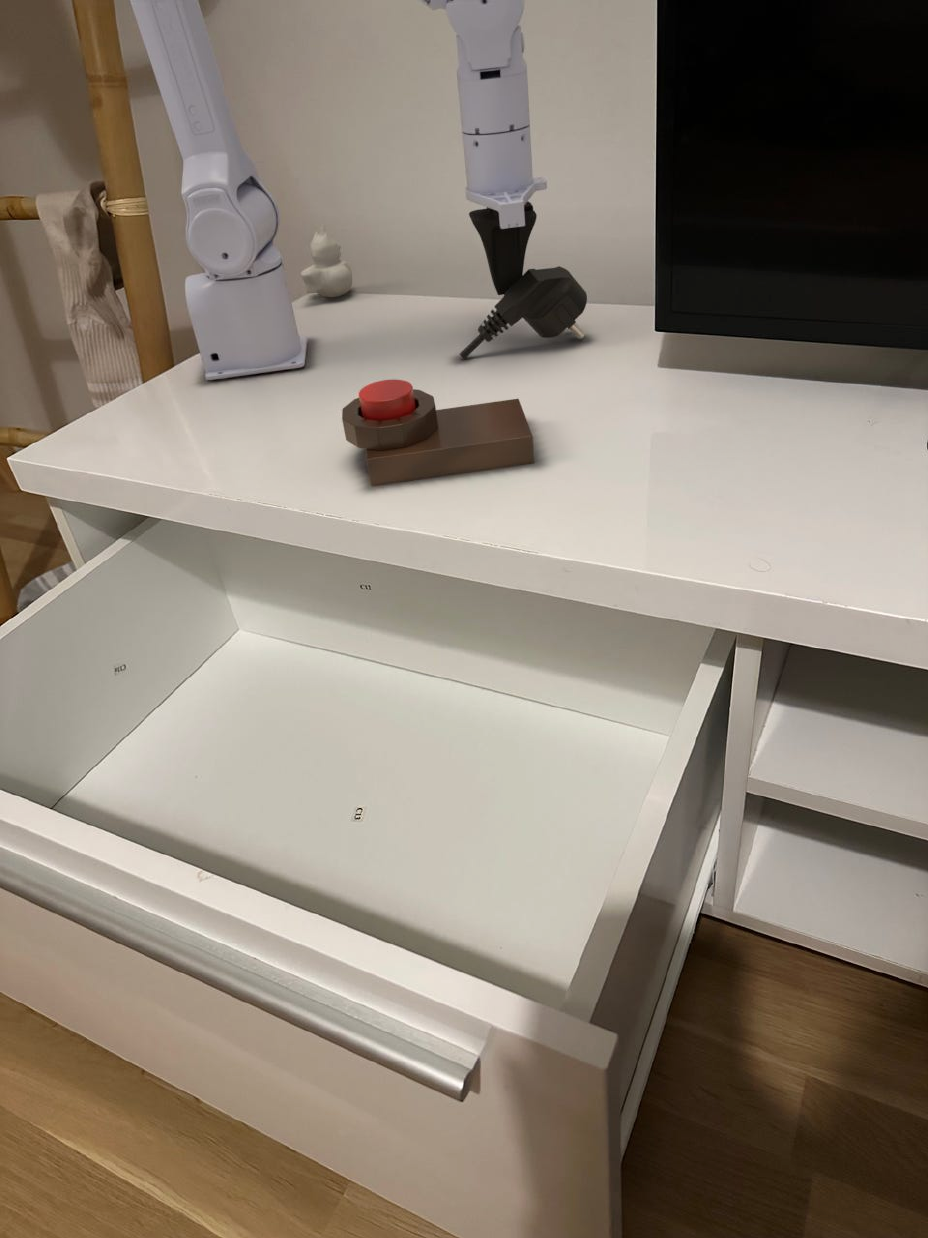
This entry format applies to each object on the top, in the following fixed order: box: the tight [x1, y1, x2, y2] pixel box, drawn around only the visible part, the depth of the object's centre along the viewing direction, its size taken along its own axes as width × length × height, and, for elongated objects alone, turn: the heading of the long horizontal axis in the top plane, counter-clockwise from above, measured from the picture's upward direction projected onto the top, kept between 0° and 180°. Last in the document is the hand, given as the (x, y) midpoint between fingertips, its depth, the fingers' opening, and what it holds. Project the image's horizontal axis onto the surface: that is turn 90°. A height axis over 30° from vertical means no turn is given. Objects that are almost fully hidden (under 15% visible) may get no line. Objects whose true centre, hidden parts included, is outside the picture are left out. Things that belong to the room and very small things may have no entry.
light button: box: [358, 379, 416, 421], centre depth 68 cm, size 4×4×2 cm
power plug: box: [459, 265, 588, 360], centre depth 85 cm, size 6×8×12 cm
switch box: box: [341, 388, 535, 487], centre depth 69 cm, size 13×8×4 cm, turn 96°
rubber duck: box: [300, 222, 353, 298], centre depth 103 cm, size 5×7×8 cm
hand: (507, 291), depth 85 cm, fingers closed
